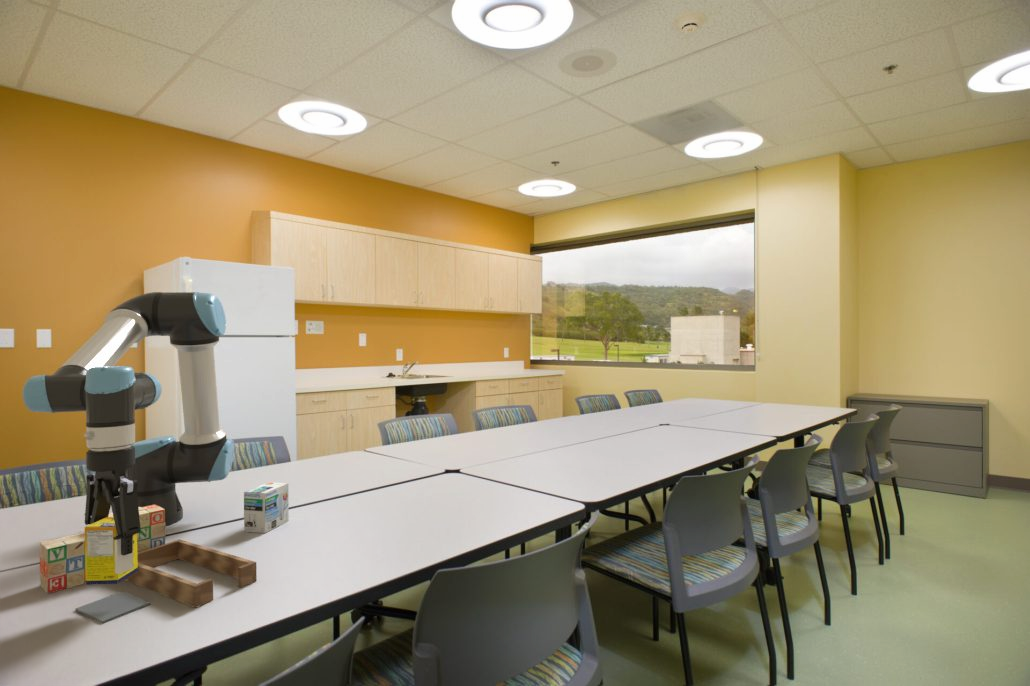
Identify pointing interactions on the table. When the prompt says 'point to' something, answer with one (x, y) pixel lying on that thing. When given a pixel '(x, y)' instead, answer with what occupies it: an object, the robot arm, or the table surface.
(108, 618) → the mat
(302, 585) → the table surface
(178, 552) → the open wooden frame
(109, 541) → the supplement box
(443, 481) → the table surface
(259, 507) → the light bulb box
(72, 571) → the stack of blocks
